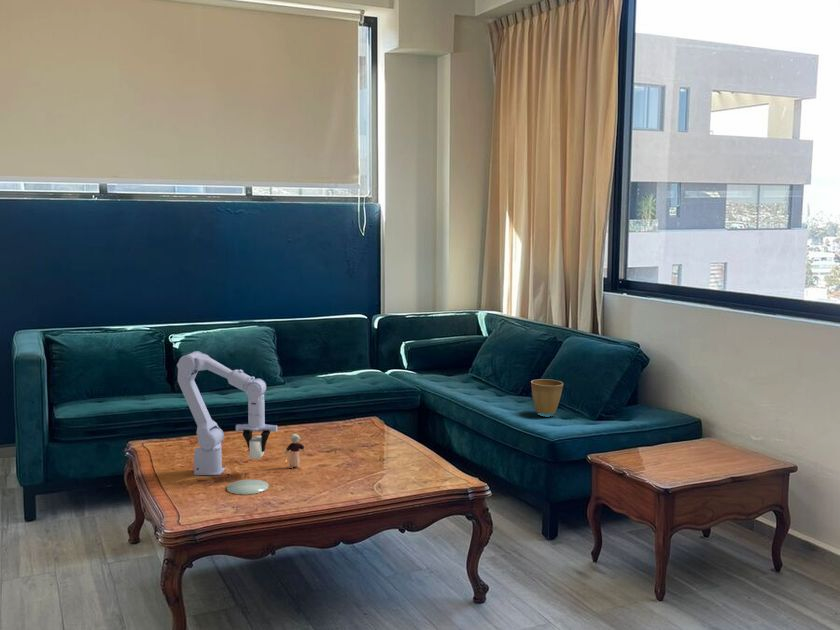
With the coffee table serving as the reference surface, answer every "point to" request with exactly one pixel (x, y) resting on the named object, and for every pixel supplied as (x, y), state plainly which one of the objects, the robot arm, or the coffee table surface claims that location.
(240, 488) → the sage plate
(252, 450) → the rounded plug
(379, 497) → the coffee table surface
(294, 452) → the grandmother figurine
